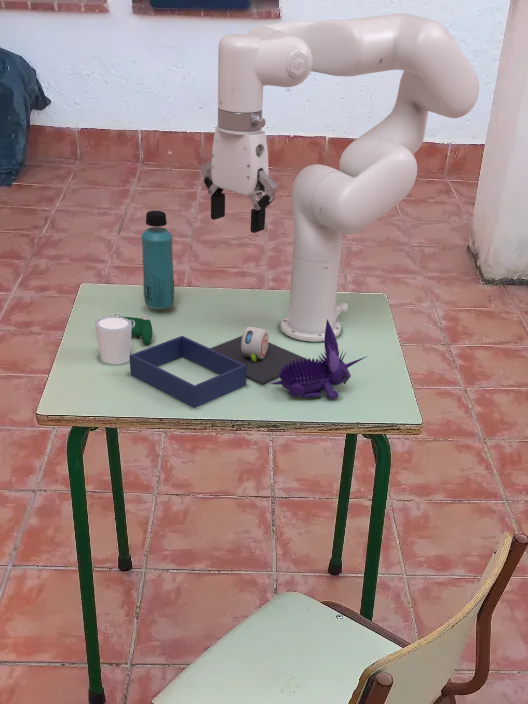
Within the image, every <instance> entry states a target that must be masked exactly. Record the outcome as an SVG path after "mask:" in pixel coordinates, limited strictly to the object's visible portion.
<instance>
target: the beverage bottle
mask: <svg viewBox="0 0 528 704" xmlns="http://www.w3.org/2000/svg"><path fill="white" fill-rule="evenodd" d="M167 221H168V220H167V214H166V212H164V211H161V210H149V211H146V213H145V224H146V225H147V226H149V227H148V228H146V229H145V230H144V231H143V233H142V234H141V237H140V238H141V246H142V247H141V249H142V252H141V253H142V275H143V282H142V286H143V298H144V303H145V305H146V306H147V307H148V308H151V309H158V310H162V309H164V310H165V309H169V308H171V307H172V306H173V305H174V302H175V300H176V299H175V280H174V262H173V261H174V260H173V258H174V257H173V255H174V254H173V234H172V233H171V232H170V231H169V230H168V229H166V228H165V227H164V226H166V225H167V224H168V222H167Z"/></svg>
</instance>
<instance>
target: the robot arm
mask: <svg viewBox="0 0 528 704" xmlns="http://www.w3.org/2000/svg"><path fill="white" fill-rule="evenodd" d="M217 51H218V53H217V125H216V126H215V128H214V129H215V130H214V135H213V140H212V148H211V149H212V150H211V160H210V161H207V162H206V163H204V164H202V165H200V170H201V174H202V177H203V178H204V179H203V183H204V185H205V187H206V189H207V194H208V196H210V219H211V220H213V221H216V220H218V219H221V218H225V216H226V194H225V193H224V192H223V191H228V192H231V193H233V194H234V193H235V194H238V195H240V196H246V197H248V198H249V201H250V202H251V204H252V206H253V208H251V209H250V233H253V234H256V233H259V232H261V231H264V230H265V227H266V209H267V208H269V207H270V205H271V203H272V202H274V200H275V196H276V194H277V192H278V190H279V185H278V184H277V183H276V182H275V181H274V180H273V178H271V177H270V176H269V174H270V173H269V151H268V150H269V149H268V141H267V135H266V132H265V131H263V129H262V128H264V127H265V126H266V119H265V118H263V102H264V101H263V99H264V87H265V86H269V87H270V86H272V87H278V88H279V87H281V88H292V87H296V86H298V85H301V84H302V83H304V82H305V81H306V79H308V77H309V76H310V73H311V72H314V73H319V74H324V75H328V76H334V77H356V76H357V77H358V76H363V75H368V74H375V73H382V72H389V71H397V70H398V71H402V73H401V78H400V80H399V85H398V90H397V94H396V99H395V103H394V106H393V108H392V110H391V112H390V113H389V114H388V115H387V116H386V117H385V118H384V119H383V120H381V121H380V122H378V124H376V125H375V126H373V127H372V128H370V129H369V130H368V131H366V132H365V133H363V134H362V135H361V136H359V137H357V138H356V139H355V140H353V141H352V142H351V143H350V144H349V145H348V146H347V147H346V148H345V149H344V150H343V152H342V153H341V155H340V158H339V162H338V168H339V169H336V168H333V167H332V166H329V165H326V164H321V163H320V164H319V163H318V164H317V163H315V164H311V165H308V166H306V167H304V168H302V169H301V171H299V173H298V174H297V175H296V177H295V179H294V182H293V184H292V189H291V208H292V217H293V246H292V261H291V273H290V275H291V276H290V288H289V289H290V290H289V303H288V305H289V306H288V315H287V316H285V317H283V318H282V319H281V321H280V330H281V332H282V333H283V334H284V335H286V336H288V337H290V338H292V339H295V340H297V341H303V342H313V343H315V342H318V343H319V342H325V329H326V322H327V319H328V321H329V324H330V326H331V328H332V330H333V332H334V334H335V337H336V338H337V337H339V335H341V332H342V331H341V330H342V325H341V323H340V322H339V321H338V320H337V319H338V317H339V315H340V314H343V313H346V312H347V311H348V309H349V306H348V304H347V303H346V302H341V303H337V298H338V289H339V288H338V286H339V276H340V269H341V268H340V267H341V258H342V250H343V249H342V248H343V237H342V234H343V235H353V234H356V233H358V232H361V231H363V230H364V229H365V228H367V227H368V226H370V225H372V223H374V222H375V221H377V220H378V219H380V218H381V217H382V216H384V215H385V214H386V213H387V212H389V211H390V210H392V209H393V208H394V207H396V206H397V205H399V203H401V202H402V201H403V200H404V199H405V198H406V197H407V196H408V195H409V194H410V192H411V190H412V189H413V187H414V185H415V183H416V180H417V175H418V163H417V159H416V157H415V154H416V153H417V152H418V151H419V149H420V148H421V147H422V145H423V142H424V138H425V134H426V128H427V124H428V123H427V122H428V117H429V112H430V113H434V114H437V115H439V116H442V117H446V118H449V119H459V118H462V117H464V116H466V115H467V114H469V113H470V112H471V111H472V109H473V108H474V107H475V105H476V103H477V101H478V98H479V92H480V82H479V78H478V75H477V73H476V71H475V69H474V67H473V66H472V64H471V62H470V61H469V60H468V57H466V55H465V54H464V53H463V51H462V49H461V48H460V46H459V45H458V43H457V42H456V41H455V39H454V38H453V36H452V35H451V34H450V33H449V31H448V30H447V28H445V26H443V25H442V24H441V23H440V22H438V21H437V20H435V19H430V18H426V17H422V16H418V15H414V14H409V13H391V14H382V15H375V16H368V17H367V16H366V17H358V18H350V19H326V20H310V21H309V20H307V21H306V20H305V21H303V20H301V21H285V22H277V23H270V24H261V25H258V26H255V27H253V28H252V29H250V30H249V31H248V32H247V33H229V34H225V35H223V36H222V37H221V38H220V40H219V42H218V50H217Z"/></svg>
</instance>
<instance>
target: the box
mask: <svg viewBox="0 0 528 704" xmlns="http://www.w3.org/2000/svg"><path fill="white" fill-rule="evenodd" d="M181 358H184V359H186V360H188V361H190V362H192V363H194V364H196V365H198V366H201V367H202V368H204V369H206V370H209V371H211V372H213V373H215V374H217V375H216V376H213V377H211V378H208V379H206V380H203V381H201V382H199V383H196V384H193V383H191V382H189V381H187V380H185V379H183V378H181V377H179V376H176V375H175V374H172V373H171V372H169V371H166V370H165V369H162V368H161V367H160V366H163V365H165V364H168V363H170V362H173V361H176V360H178V359H181ZM129 368H130V369H129V370H130V372H129V373H130V376H131V377H133V378H135V379H137V380H139V381H141V382H142V383H145V384H146V385H149V386H151V387H153V388H155V389H157V390H159V391H161V392H163V393H164V394H166V395H168V396H170V397H172V398H174V399H176V400H178V401H180V402H182V403H184V404H186V405H187V406H189V407H192V408H193V409H196V408H198V407H200V406H203V405H204V404H207V403H209V402H212V401H214V400H216V399H218V398H221V397H223V396H225V395H228V394H229V393H232V392H234V391H237V390H239V389H241V388H243V387H245V386H247V377H246V371H247V365H245V364H242V363H240V362H238V361H236V360H234V359H232V358H229V357H227V356H225V355H223V354H221V353H219V352H216V351H214V350H212V349H210V347H208V346H205V345H204V344H201V343H200V342H197V341H195V340H193V339H190V338H188V337H186V336H184V335H181V336H178V337H175V338H171V339H169V340H167V341H164V342H161V343H158V344H156V345H154V346H153V345H152V346H151V347H148V348H145V349H142V350H140V351H137V352H134V353H132V354H131V353H130V360H129Z"/></svg>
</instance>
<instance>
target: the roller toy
mask: <svg viewBox="0 0 528 704" xmlns="http://www.w3.org/2000/svg"><path fill="white" fill-rule="evenodd" d="M241 336H242V341H241V352H242V354H243V356H245V357H249V358H251V360H252V362H256V361H257V359H259V360H261V359H263V358H264V357H265V355H266V352H267V348H268V342H269V339H270V338H269V337H270V335H269V332H268V330H267V329H265V328H259V327H256V326H247V327H245V329H244V330H243V333H242V335H241Z"/></svg>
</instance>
